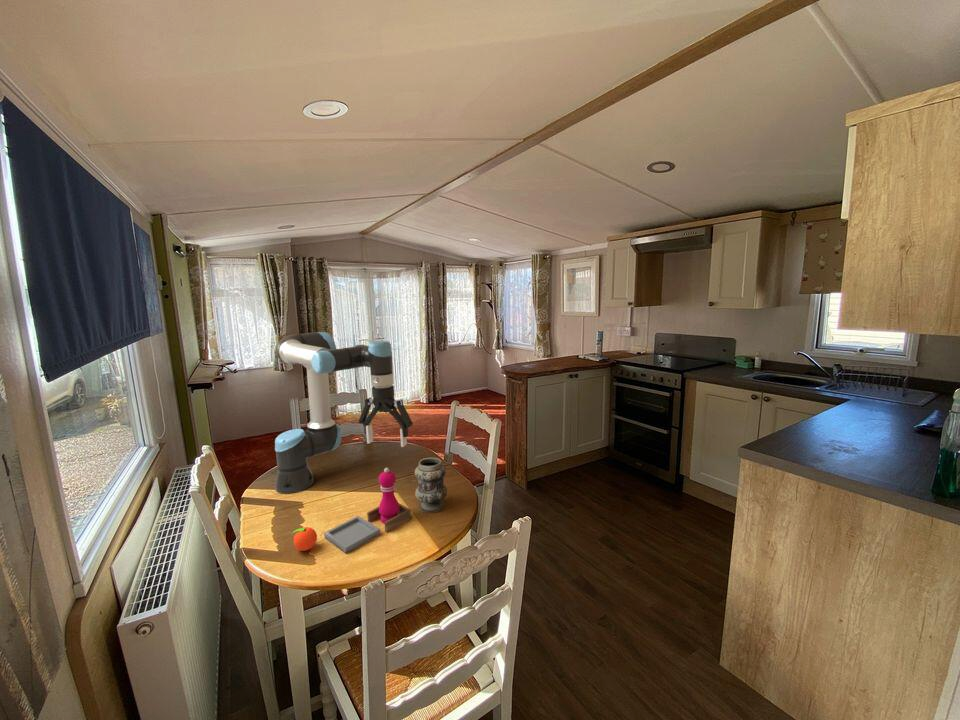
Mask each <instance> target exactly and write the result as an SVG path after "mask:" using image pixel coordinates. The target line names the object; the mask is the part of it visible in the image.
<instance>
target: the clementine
mask: <svg viewBox="0 0 960 720" xmlns="http://www.w3.org/2000/svg"><path fill="white" fill-rule="evenodd" d="M293 533H295V534H294V536H293ZM292 536H293V545H294V547H295V548H296V549H297V550H298V551H302V552H303V551H304V552H305V551H309V550H310V549H312V548H313V547H315V545H316V543H317V541H318V534H317V532H316V530H315V529H313V528H312V527H309V526H305V527H301V528H297V529H296V530H295V529H294V531H293V532H292V533H291V537H292Z"/></svg>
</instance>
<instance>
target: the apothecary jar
mask: <svg viewBox="0 0 960 720" xmlns="http://www.w3.org/2000/svg"><path fill="white" fill-rule="evenodd" d="M446 474H447V469H446V466H445V465H444V464H443V463H442V460H441V459H440V458H438V457H426V458H422V459H420V460H419V462H418V466H416V468H415V469H414V476H415V478H416V479H418V481H417V482H418V485H417V488H416V489H415V497H416V499H417V500H418V501H419V502H420V503H419V506H418V508H419V510H420V511H422V512H423V513H428V514H429V513H430V514H432V513H437V512H440V511H441V510H443V509H444V508H445V506H446V503H445V501H444V499H445V498H446V497H447V495H448V489H447V486H446V485H445V483H444V476H446Z"/></svg>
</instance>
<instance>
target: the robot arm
mask: <svg viewBox="0 0 960 720" xmlns="http://www.w3.org/2000/svg"><path fill="white" fill-rule="evenodd" d="M275 354H276V357H277V358H278V359H279V360H280V361H281V362H283V363H285V364H288V365H295V364H300V365H302V366H303V367H304V368H305V369H306V376H307V390H308V391H307V392H308V404H309V417H310V420H309V422H308V423H307V424H306V425H307V426H306V428H307V430H304V429H302V428H295V429H289V430H286V431H283V432H281V433H280V434H278V435H277V437H275V440H274V451H275V457H276V465H277V473H276V477H275V478H276V479H275V480H274V481H275V482H274V488H275V491H276V492H277V493H279V494H292V493H293V494H294V493H299V492H301V491H304V490H307V489H308V488H310V487H312V485H313V484H314V482H315V480H314V475H313V473H312V471H311V468H310V466H309V463H308V459H309V458H313V457H317V456H319V455H323V454H325V453H329V452H331V451H333V450H336V449H338V447H340V444H341V442H342V431H341V427H340V426H339V425H338V424H337V423H336V421H335V420H334V419H332V410H331V407H332V406H331V396H330V393H331V392H330V380H329V373H334V372H340V371H345V370H351V369H358V368H364V367H365V368H366V367H367V368H370V369H369V370H370V380H371V382H370V383H371V386H372V387H371V396H372V397H371V396H370V397H368V398H366V399H364V406H363V408H362V409H363V410H362V412H361V415H360V417H359V419H358V424H360V425H363V427H364V430H363V431H364V434H366V445H367V444H371V443H373V441H374V433H373V423H371V422H372V421H373V419H374V418H375V416H376V415H377V414H378V412H379V413H389V415H391V416H392V417H393V418H394V420H395V421H396V422H397V423H398V425H399V426H400V427H401V428H399V433H400V448H404V447H405V446H407V445H408V444H407V443H408V441H407V437H408V436H409V428H411V426H413V424H414V423H413V421H412V419H411V417H410V414H409V413H408V411H407V409H406V408H405V406H404V405H405V404H404V400H403V399H402V398H401V399H398V400H397V399H395V386H394V381H395V380H394V371H393V351H392V344H391V342H389V340H375V341H370V342H369V343H368V345H367V344H366V345H365V344H356V345H354V346H349V347H343V348H342V347H341V348H337V346H336V341H335V340H334V338H333V336H332V335H331V334H329V333H328V332H325V331H323V332H321V331H320V332H319V331H316V332H315V331H313V332H307V333H298V334H290V335H287V336H284V337H282V339H280V340H279V341H278V342H277V344H276V346H275ZM372 404H373V405H374V407H373V409H372V410H371V407H372ZM370 410H371V412H370ZM369 412H370V413H369ZM368 414H369V415H368Z"/></svg>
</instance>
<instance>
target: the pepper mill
mask: <svg viewBox="0 0 960 720" xmlns="http://www.w3.org/2000/svg"><path fill="white" fill-rule="evenodd" d="M383 470H384V471H383V472H381V473H380V474H379V475H378V483H379V485H380V490H381V492H382V497H381V501H380V503H379V506H378V507H379V513H380V514H381V516H380V522H381V523H382V524H383V525H385V523H384V522H386V521H388V520H389V519H391V518H393V517H395V516H397V515H399V514H398V511H399V504H400V503H399V501H398V499H397V498H396V495H395V489H396V481H397V477H396V474H395V472H393V471H392V470H390V469H389V467H385V468H384V469H383Z"/></svg>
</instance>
